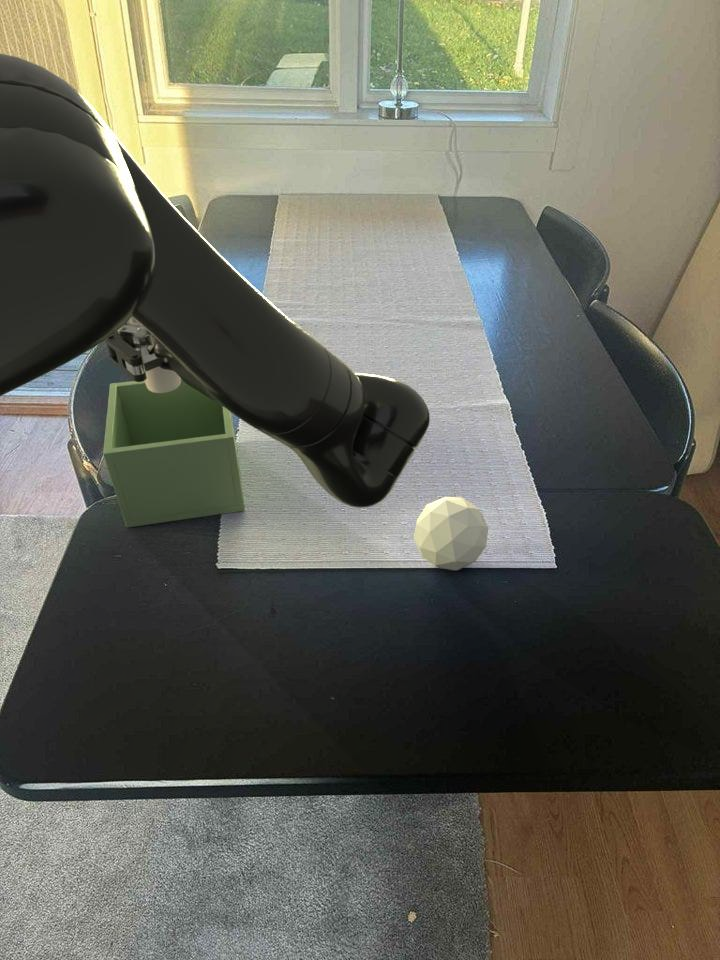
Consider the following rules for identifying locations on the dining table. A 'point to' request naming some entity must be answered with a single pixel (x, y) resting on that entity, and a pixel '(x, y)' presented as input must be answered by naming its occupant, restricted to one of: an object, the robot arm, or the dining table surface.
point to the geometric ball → (451, 533)
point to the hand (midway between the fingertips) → (135, 310)
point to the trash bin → (170, 454)
